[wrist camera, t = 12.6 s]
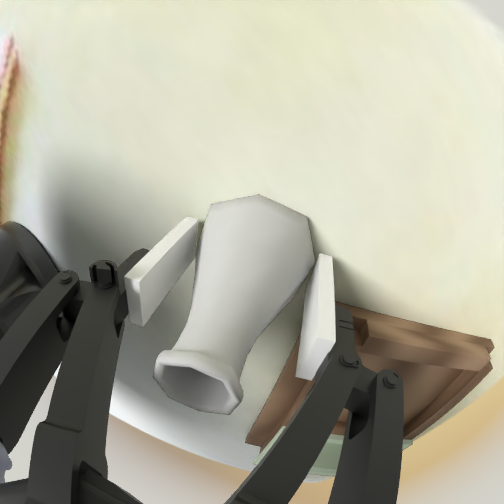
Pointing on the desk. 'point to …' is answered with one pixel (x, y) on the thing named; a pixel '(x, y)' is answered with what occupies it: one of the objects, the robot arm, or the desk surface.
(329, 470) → the cover
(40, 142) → the desk surface
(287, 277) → the flask
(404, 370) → the tray
